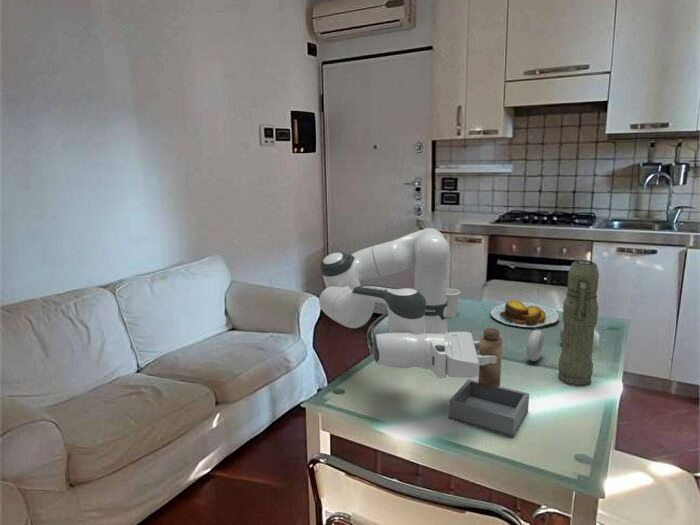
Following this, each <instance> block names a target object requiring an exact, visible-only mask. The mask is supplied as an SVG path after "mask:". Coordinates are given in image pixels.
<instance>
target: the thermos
mask: <svg viewBox="0 0 700 525" xmlns="http://www.w3.org/2000/svg"><path fill="white" fill-rule="evenodd" d="M567 275H568V276H567V287H566V288H567V292H566V297H565V300H564V302H563V307H562V308H563V310H562V320H563V322H564V330H563V342H561V353H560V355H559V358H558V367H557V368H558V374H557V375H558V377H557V378H558V380H559V381H560V382H562V383H564V384H566V385H569V386H573V387H587V386H586V385H588V386H590V385H591V383H592V375H593V373H594V372H593V371H594V363H593V360H592V358H593V347H594V335H595V328H596V325H597V324H598V315H599V303H598V300H597V298H598V295H597V292H598V288H599V278H600V273H599V269H598V266H597V264H596V263H595V262H594V261H590V260H586V259H585V260H583V259H581V260H580V259H579V260H575V261H573V262H572V263H571V265H570V267H569V270H568V274H567Z"/></svg>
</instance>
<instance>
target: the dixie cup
mask: <svg viewBox="0 0 700 525" xmlns="http://www.w3.org/2000/svg"><path fill="white" fill-rule="evenodd" d="M460 293H461V291H460V290H459V289H456V288H447V291H446V300H447V307H448V313H447V318H454V317H456V316H457V311H458V305H459V299H460Z"/></svg>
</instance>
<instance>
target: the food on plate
mask: <svg viewBox="0 0 700 525" xmlns="http://www.w3.org/2000/svg"><path fill="white" fill-rule="evenodd" d="M489 312H490V316H491V317H492V318H493V319H495V320H497V321H498V322H501V323H503V324H506V325H509V326H510V325H511V326H516V327H517V326H518V327H523V328H537V327H543V326H545V325H547V326H548V325H550V324H555V323H556V322H557V323H560V321H559V320H560V315H559V313H558V312H557V311H556V310H554V309H552V308H550V307H548V306H545V305H542V304H538V303H532V302H525V301H520V300H509V301H506V303H501V304H498V305H496V306H494V307H493V308H491V309H490V311H489ZM500 317H503V318H505V319H506V320H505V319H503V320H504V321H503V320H501V319H500ZM507 320H508V321H507ZM545 320H546V322H544V321H545ZM506 321H507V323H506ZM509 321H510V322H511V323H510V322H509ZM509 323H510V324H509ZM540 323H544V324H542V325H537V326H535V325H528V324H540ZM527 325H528V326H527Z"/></svg>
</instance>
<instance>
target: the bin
mask: <svg viewBox="0 0 700 525" xmlns="http://www.w3.org/2000/svg"><path fill="white" fill-rule="evenodd" d="M478 382H479V380H474V379H470V378H468V379H467V380H466V381H465V382H464V384H463V385H462V386H461V387H460V388H459V389H458V390H457V391H456V392H455V393H454V395H453V396H452V397H451V398H450V399H449V400H448V420H449V421H453V422H456V421H457V422H456V423H460V424H464V425H467V426H470V427H475V428H478V429H481V430H484V431H487V432H491V433H496V434H498V435H502V436H505V437H508V438H512V439H513V438H514V437H515V435H516V433H517V432H518V430H519V428H520V427H521V426H522V423H523V421H524V419H525V418H526V416H527V414H528V412H529V406H530V405H529V403H530V402H529V401H530V393H528V392H524V391H520V390H517V389H512V388H507V387H504V386H501V385H500V386H499V387H498V388H485V387H482V386H480V385H479V383H478Z"/></svg>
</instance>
